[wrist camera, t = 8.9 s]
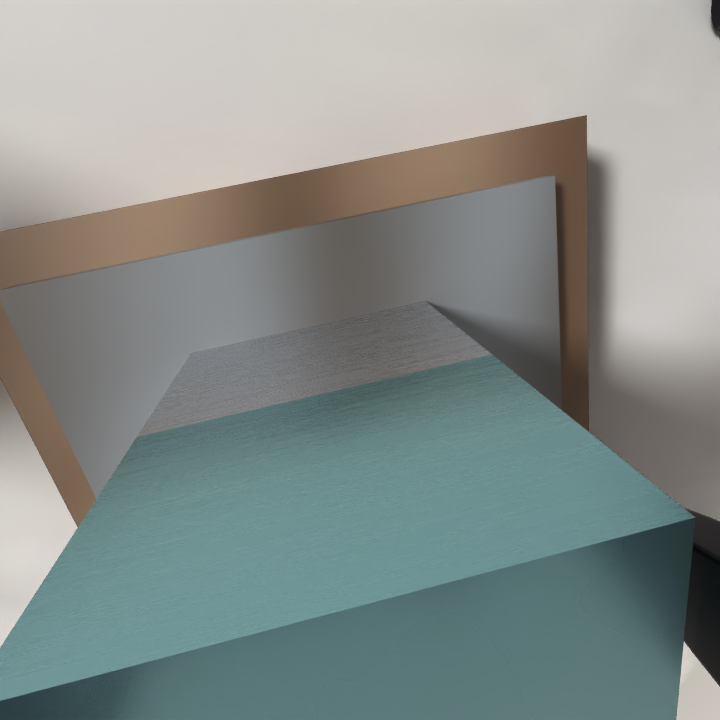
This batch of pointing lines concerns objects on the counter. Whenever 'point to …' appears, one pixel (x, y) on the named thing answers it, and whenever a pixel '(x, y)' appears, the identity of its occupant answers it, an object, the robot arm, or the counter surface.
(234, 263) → the square wooden frame
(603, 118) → the counter surface
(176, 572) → the teal and white box
